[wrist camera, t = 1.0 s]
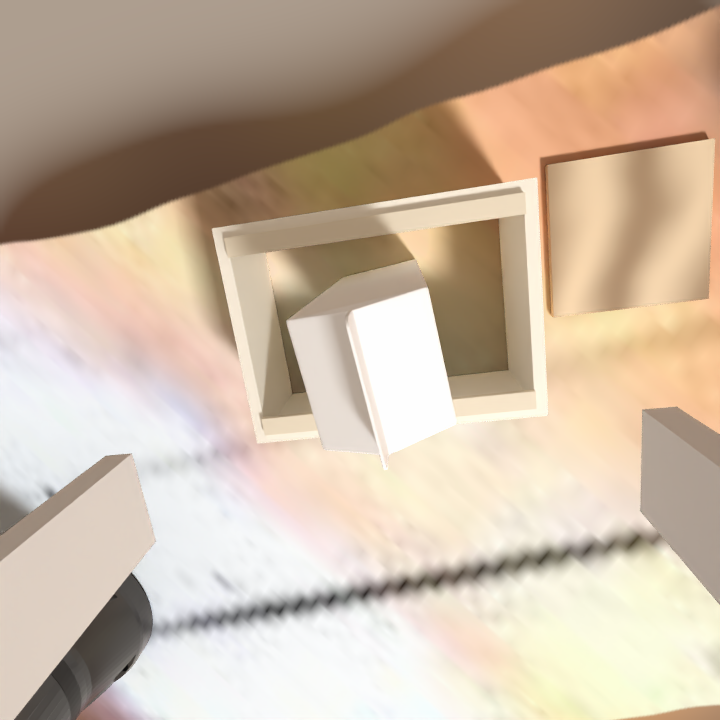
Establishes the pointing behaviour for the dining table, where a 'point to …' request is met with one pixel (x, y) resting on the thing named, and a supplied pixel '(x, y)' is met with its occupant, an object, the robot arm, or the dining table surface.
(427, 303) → the milk
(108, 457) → the robot arm
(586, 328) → the dining table surface
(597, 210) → the mat
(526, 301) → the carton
